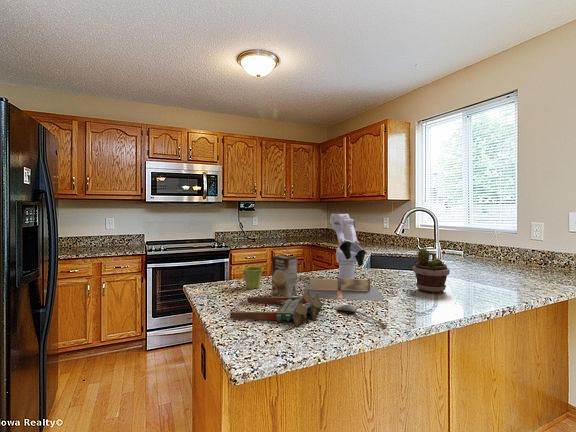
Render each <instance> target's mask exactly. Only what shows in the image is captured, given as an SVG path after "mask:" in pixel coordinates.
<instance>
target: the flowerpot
mask: <svg viewBox="0 0 576 432" xmlns="http://www.w3.org/2000/svg"><path fill="white" fill-rule="evenodd" d="M415 257H417V259H416V261H418V262H416V263H415V264H414V266H412V271H413V273H415V274H414V275H415V279H416V282H415V286H416V288H417V289H418V291H420V292H422V293H425V294H435V295H436V294H438V295H439V294H443V293H444V291H446V288H447V285H446V282H447V277H448V275H450V273H451V270H450V268H448V265H447V264H446V263H443V260H442V259H440V258H436V257H435V258H432V259H431V251H430V250H428V249H427V248H426V247H423V246H420V249H419V250H417V253H416V256H415Z"/></svg>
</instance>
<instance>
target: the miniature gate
mask: <svg viewBox="0 0 576 432" xmlns="http://www.w3.org/2000/svg"><path fill="white" fill-rule="evenodd" d="M303 294H304V293H303ZM303 294H302V296H303V297H302V296H300V295H299V296H294V295H292V296H289V297H286V296H254V297H252V296H250V297H246V299H247V301H246V302H247V303H249V304H264V305H272V304H273V305H274V304H275V305H279V304H282V307H281V308H279V309H278V310H275V311H230V312H229V317H230V319H239V320H250V321H251V320H252V321H256V320H257V321H271V320H272V321H273V320H274V321H276V322H277V321H289V322H290V321H291V320H293V323H294V326H295V328H296V329H297V328H299V327H300V325H301V323H302V322H303V321H304V319H308V318H307V317H308V316H307V314H308V313H309V314H310V317H311V319H312V321H313V322H315V321H316V319H317V316H318V315H319V314H320V312H324V310H323V306H325V305H326V304H325V302H321V300H320V298H319V297H318V294H317V295H316V296H315V298H311V296H310V294H309V290H307V291H306V293H305V294H304V295H303Z"/></svg>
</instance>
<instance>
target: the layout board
mask: <svg viewBox="0 0 576 432" xmlns="http://www.w3.org/2000/svg"><path fill="white" fill-rule="evenodd" d="M307 290H309V294H310V296H311V298H315V296H316V295H317V294H318V297H319V299H329V300H349V301H374V302H375V301H376V302H386V301H385V299H384V297H383V295H382V294H381V292H380V290H379V288H378V287H377V286H370V291H367V290H342V282H341V278H340V277H339V276H338V277H337V278H336V279H335V278H314V277H313V278H309V284H306V285H305V288H304V291H303V294H302V296H301V297H303V295H304V294H305V293H306V291H307Z"/></svg>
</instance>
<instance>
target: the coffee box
mask: <svg viewBox="0 0 576 432" xmlns="http://www.w3.org/2000/svg"><path fill="white" fill-rule="evenodd" d="M271 266H272V267H271V294H274V295H277V296H278V295H279V296H281V297H291V296H294V295H297V294H298V292H297V290H298V289H297V286H298V283H297V281H298V278H297V277H298V257H296V256H292V255H283V254H279V255H274V256H272V257H271Z"/></svg>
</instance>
